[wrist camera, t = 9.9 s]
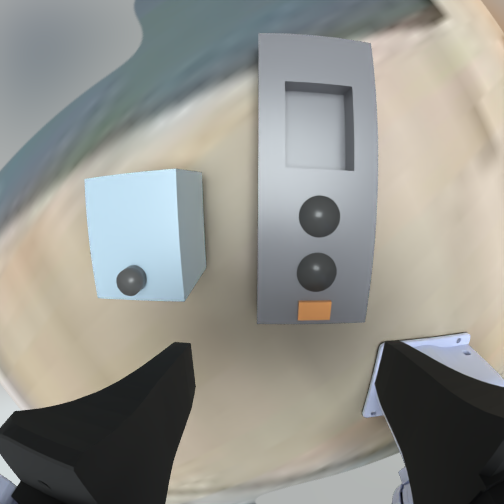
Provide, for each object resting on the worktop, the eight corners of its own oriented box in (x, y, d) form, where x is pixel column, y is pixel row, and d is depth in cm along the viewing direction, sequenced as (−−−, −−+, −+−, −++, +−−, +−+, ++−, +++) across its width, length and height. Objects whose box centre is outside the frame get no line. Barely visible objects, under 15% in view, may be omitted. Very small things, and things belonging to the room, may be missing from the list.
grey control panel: (359, 56, 17) (372, 41, 14) (354, 307, 21) (366, 324, 18) (259, 49, 17) (258, 30, 14) (257, 307, 21) (256, 325, 18)
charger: (207, 173, 19) (170, 168, 11) (211, 260, 20) (180, 308, 12) (142, 178, 19) (75, 179, 11) (147, 260, 20) (90, 304, 13)
